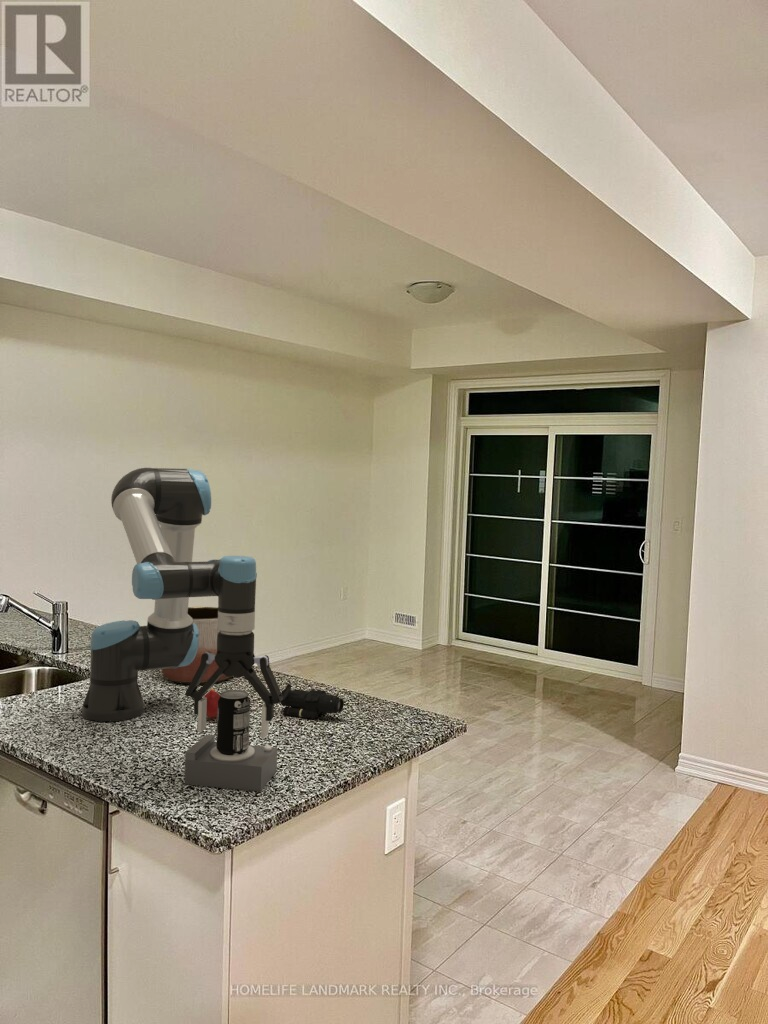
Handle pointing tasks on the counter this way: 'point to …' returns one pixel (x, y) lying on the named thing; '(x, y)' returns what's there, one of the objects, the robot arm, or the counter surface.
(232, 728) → the beverage can
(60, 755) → the counter surface
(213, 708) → the onion
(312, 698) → the night vision scope
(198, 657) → the planter
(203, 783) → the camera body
